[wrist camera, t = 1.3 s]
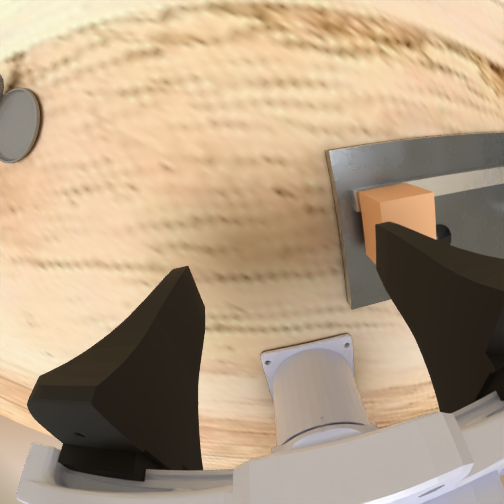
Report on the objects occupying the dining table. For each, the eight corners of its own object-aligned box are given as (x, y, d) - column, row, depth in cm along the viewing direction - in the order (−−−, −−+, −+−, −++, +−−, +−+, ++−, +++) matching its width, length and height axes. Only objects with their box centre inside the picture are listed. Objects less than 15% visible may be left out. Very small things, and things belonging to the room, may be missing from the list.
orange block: (408, 258, 21) (435, 282, 17) (365, 269, 21) (386, 296, 17) (402, 181, 19) (433, 192, 15) (355, 190, 19) (379, 202, 15)
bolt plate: (536, 242, 22) (571, 261, 16) (347, 302, 24) (370, 345, 18) (535, 131, 18) (575, 137, 12) (324, 150, 20) (350, 154, 14)
